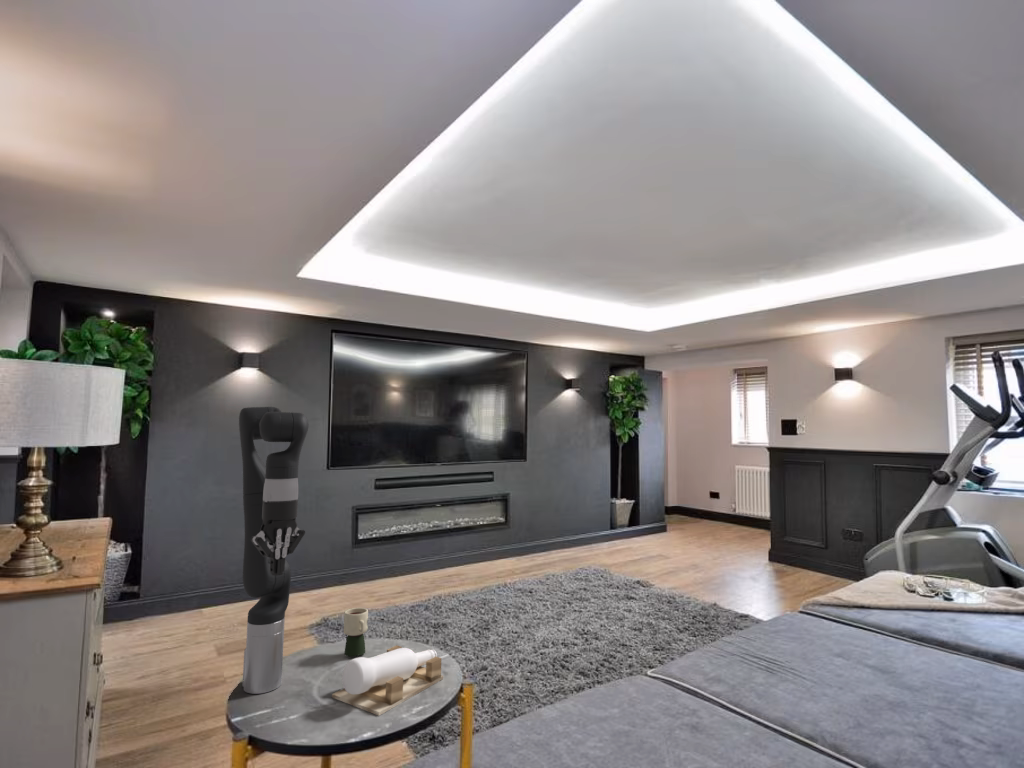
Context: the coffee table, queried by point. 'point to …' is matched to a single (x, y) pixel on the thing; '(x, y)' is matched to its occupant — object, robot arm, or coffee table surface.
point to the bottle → (382, 668)
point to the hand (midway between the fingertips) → (276, 574)
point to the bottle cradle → (394, 689)
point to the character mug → (355, 631)
